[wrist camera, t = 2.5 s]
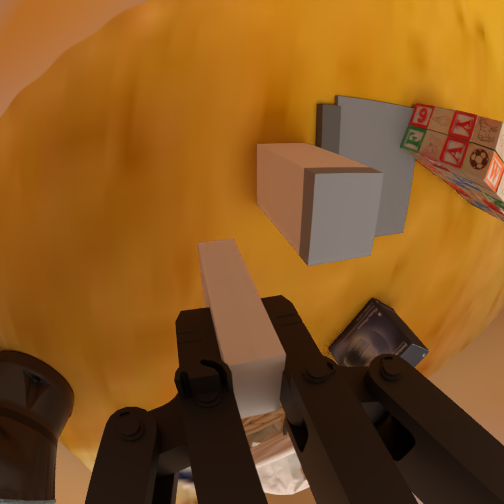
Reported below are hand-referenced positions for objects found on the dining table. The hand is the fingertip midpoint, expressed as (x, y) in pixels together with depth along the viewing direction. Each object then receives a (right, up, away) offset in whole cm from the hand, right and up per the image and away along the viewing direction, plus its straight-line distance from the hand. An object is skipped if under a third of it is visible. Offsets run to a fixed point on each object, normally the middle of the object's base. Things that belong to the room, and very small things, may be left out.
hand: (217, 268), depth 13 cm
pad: (+14, +10, +18) cm, 25 cm away
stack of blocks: (+29, +13, +20) cm, 37 cm away
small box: (+18, -11, +30) cm, 37 cm away
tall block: (+4, +8, +15) cm, 18 cm away
